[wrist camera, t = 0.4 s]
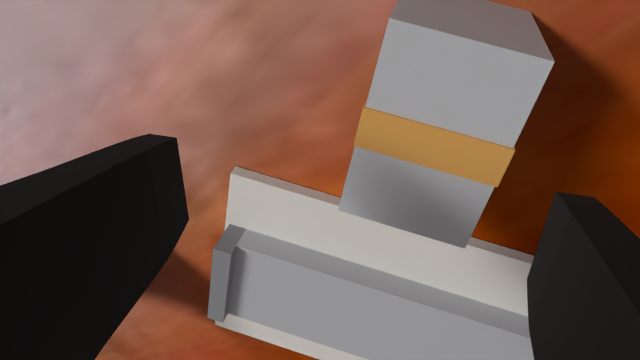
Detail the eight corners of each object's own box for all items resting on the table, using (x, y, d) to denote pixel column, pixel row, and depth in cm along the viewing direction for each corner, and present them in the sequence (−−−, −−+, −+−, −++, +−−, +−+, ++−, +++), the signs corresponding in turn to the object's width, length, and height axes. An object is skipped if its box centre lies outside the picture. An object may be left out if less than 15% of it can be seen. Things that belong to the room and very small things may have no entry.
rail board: (657, 292, 20) (679, 339, 18) (546, 424, 25) (554, 471, 23) (236, 166, 21) (213, 196, 19) (219, 316, 27) (200, 351, 25)
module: (531, 11, 16) (557, 63, 11) (464, 167, 19) (466, 251, 15) (405, -21, 16) (386, 18, 12) (362, 137, 19) (335, 211, 15)
